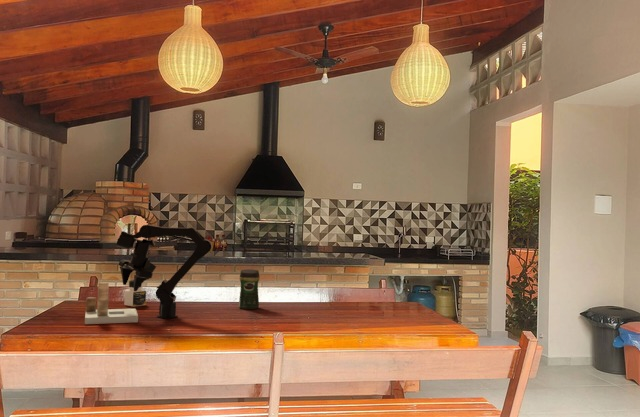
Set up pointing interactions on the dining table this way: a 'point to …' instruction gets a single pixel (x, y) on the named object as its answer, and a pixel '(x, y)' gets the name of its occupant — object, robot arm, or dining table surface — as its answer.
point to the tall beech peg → (102, 299)
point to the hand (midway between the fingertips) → (129, 288)
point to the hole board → (112, 316)
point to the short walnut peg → (91, 304)
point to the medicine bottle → (134, 296)
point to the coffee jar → (249, 289)
